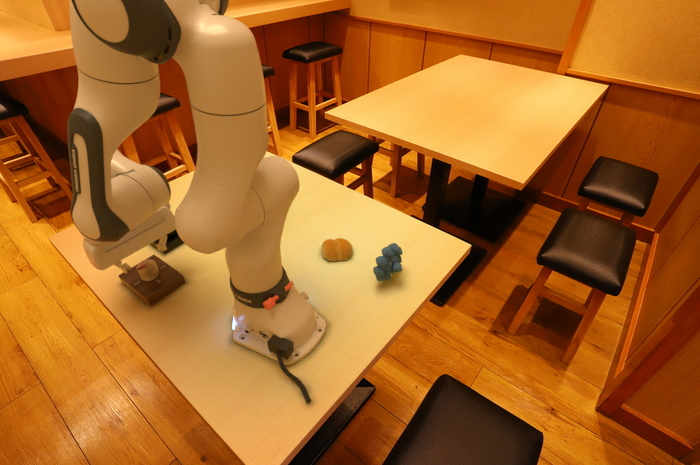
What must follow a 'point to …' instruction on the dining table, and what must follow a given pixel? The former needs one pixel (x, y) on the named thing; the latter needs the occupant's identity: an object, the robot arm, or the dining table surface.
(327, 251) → the bread roll
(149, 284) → the dial panel
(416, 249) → the dining table surface
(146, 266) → the dial knob
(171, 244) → the button base
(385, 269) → the grapes
